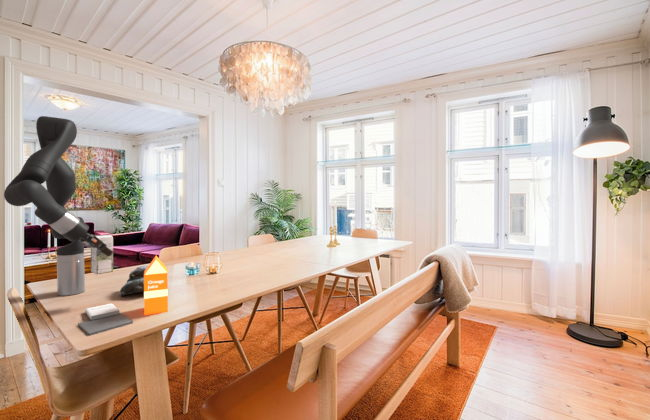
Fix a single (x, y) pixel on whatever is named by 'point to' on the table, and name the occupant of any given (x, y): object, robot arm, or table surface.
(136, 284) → the lucky cat figurine
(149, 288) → the orange juice
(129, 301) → the table surface
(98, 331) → the charcoal mat
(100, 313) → the external hard drive
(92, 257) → the syrup box
